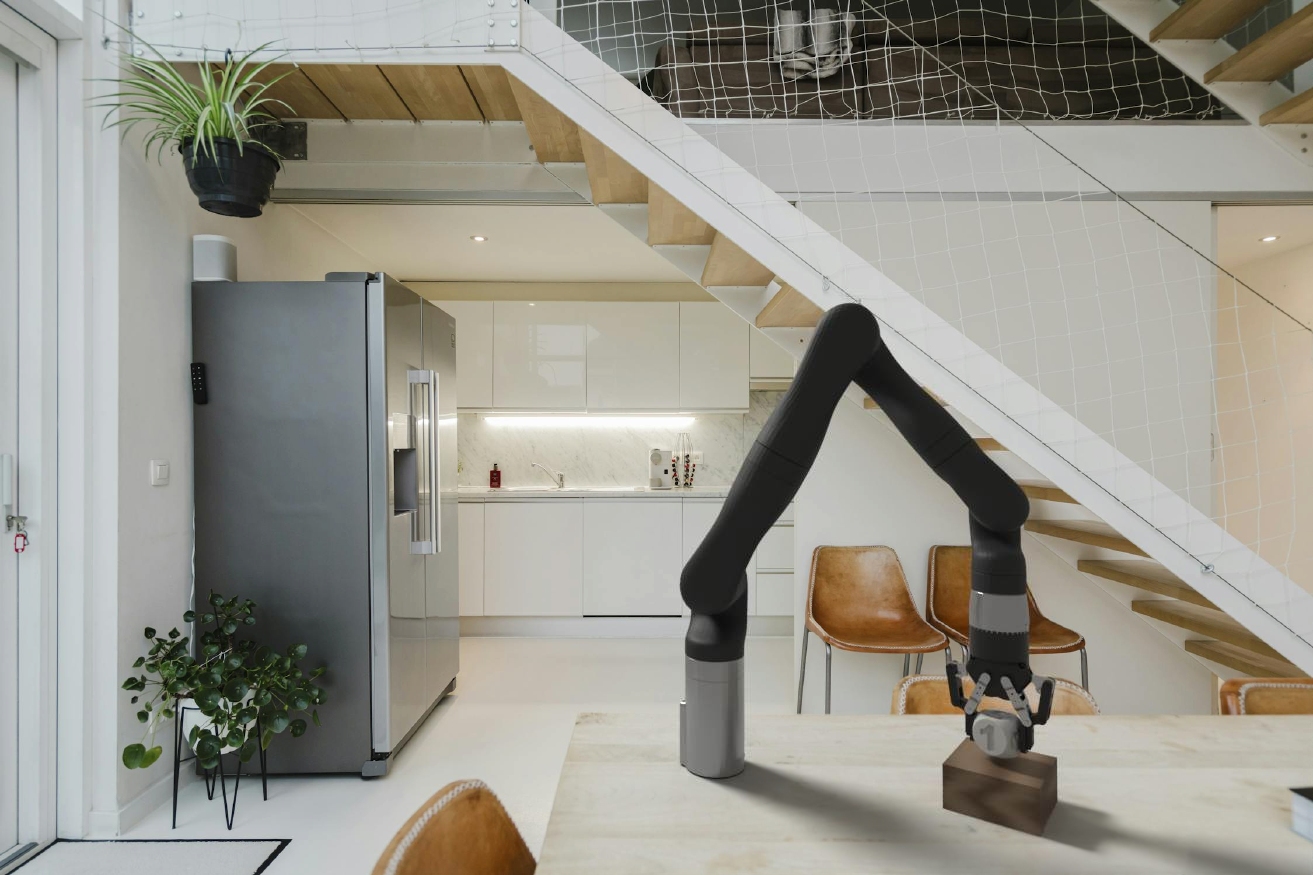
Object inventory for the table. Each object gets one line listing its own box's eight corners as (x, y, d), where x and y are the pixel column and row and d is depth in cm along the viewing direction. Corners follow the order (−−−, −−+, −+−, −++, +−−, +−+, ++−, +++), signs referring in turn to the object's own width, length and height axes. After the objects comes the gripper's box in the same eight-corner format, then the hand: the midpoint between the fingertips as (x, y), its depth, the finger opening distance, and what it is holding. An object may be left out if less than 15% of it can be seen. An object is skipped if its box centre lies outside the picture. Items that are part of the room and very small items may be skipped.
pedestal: (942, 807, 100) (942, 763, 100) (967, 776, 109) (966, 736, 109) (1040, 836, 92) (1039, 788, 92) (1057, 800, 102) (1057, 757, 102)
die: (972, 749, 101) (972, 713, 101) (991, 740, 104) (990, 705, 104) (1007, 761, 97) (1007, 724, 97) (1026, 752, 100) (1025, 716, 100)
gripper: (937, 620, 103) (937, 741, 102) (1051, 637, 94) (1052, 768, 93) (952, 611, 108) (953, 725, 108) (1061, 626, 100) (1062, 750, 99)
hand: (999, 744), depth 101 cm, fingers closed on die, 6 cm apart
